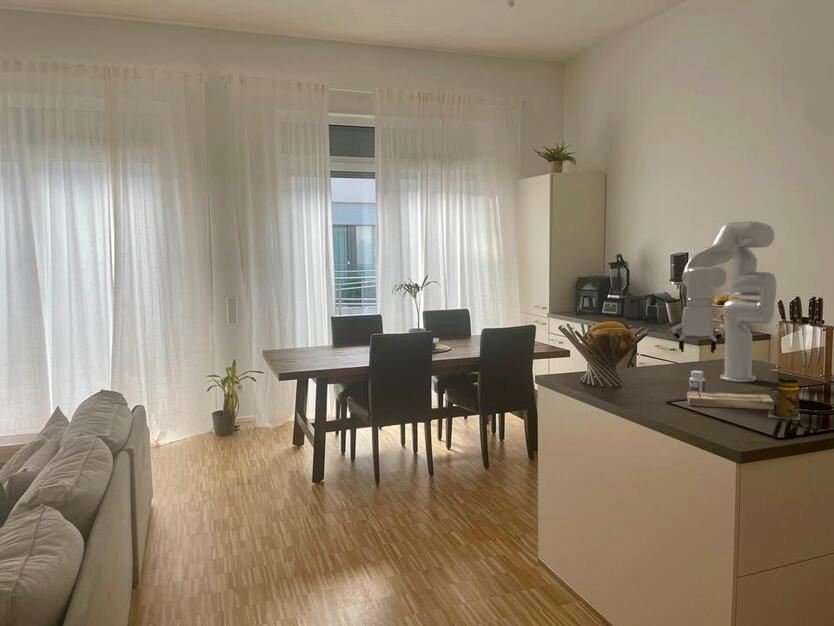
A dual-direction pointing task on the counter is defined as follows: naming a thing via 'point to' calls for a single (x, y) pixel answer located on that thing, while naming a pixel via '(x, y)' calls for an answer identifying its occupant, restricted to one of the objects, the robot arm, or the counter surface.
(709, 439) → the counter surface
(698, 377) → the pill bottle
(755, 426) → the counter surface
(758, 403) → the plank
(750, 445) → the counter surface
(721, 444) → the counter surface
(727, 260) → the robot arm
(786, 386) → the condiment
